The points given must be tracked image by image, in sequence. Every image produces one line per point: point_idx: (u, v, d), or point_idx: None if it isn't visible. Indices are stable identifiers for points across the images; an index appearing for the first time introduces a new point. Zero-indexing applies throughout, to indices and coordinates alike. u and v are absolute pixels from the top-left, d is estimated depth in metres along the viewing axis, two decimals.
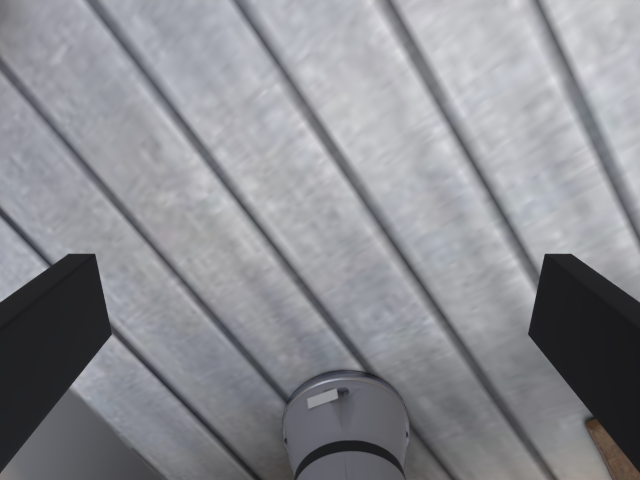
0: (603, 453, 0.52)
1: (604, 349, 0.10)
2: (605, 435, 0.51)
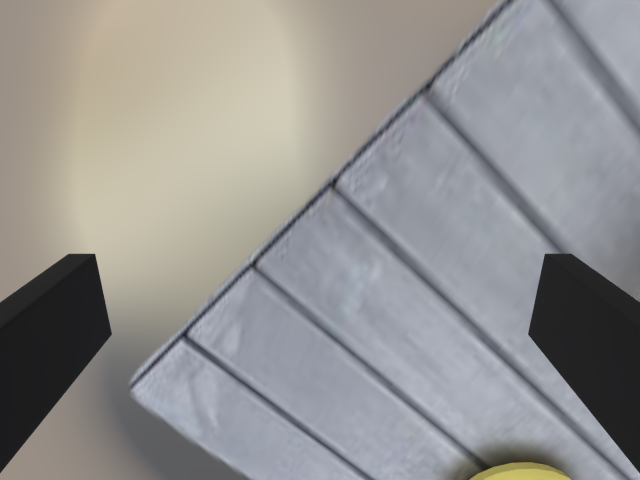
0: None
1: (604, 349, 0.10)
2: None
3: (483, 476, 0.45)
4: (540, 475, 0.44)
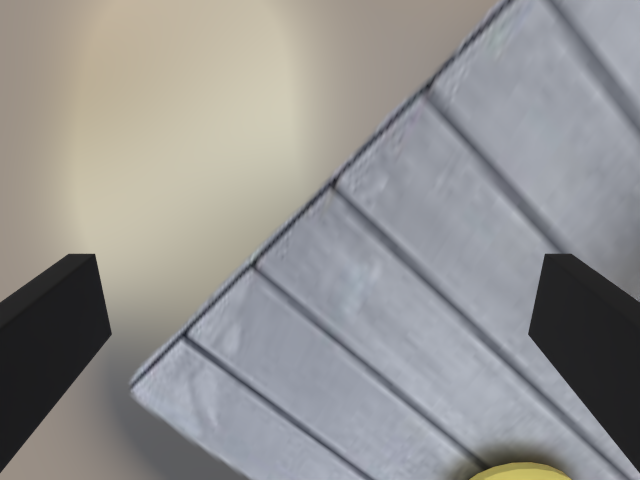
0: None
1: (604, 349, 0.10)
2: None
3: (483, 476, 0.45)
4: (540, 475, 0.44)
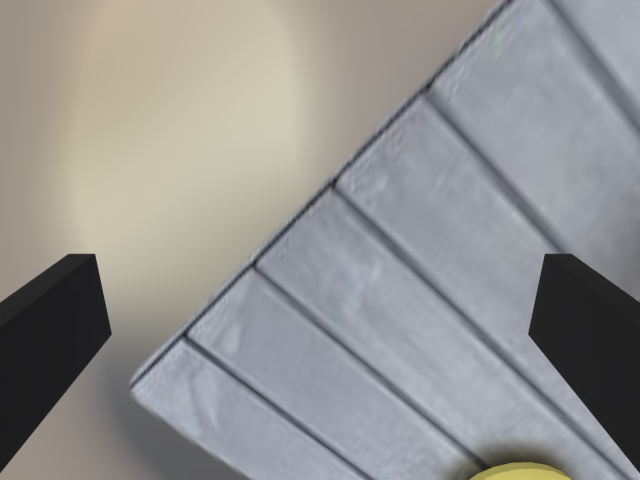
0: None
1: (604, 349, 0.10)
2: None
3: (483, 476, 0.45)
4: (540, 475, 0.44)
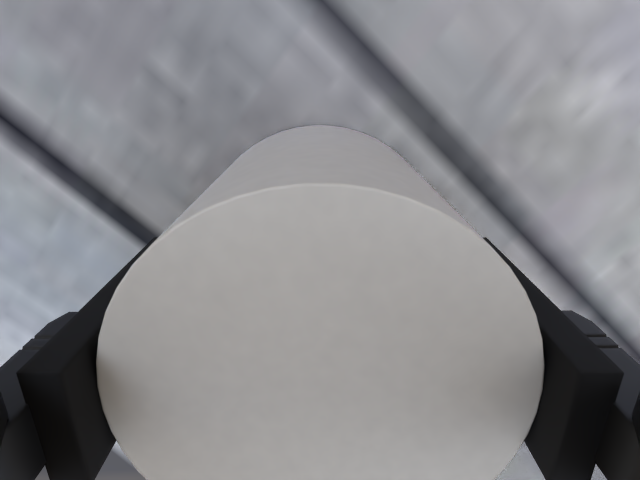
0: None
1: None
2: None
3: None
4: None
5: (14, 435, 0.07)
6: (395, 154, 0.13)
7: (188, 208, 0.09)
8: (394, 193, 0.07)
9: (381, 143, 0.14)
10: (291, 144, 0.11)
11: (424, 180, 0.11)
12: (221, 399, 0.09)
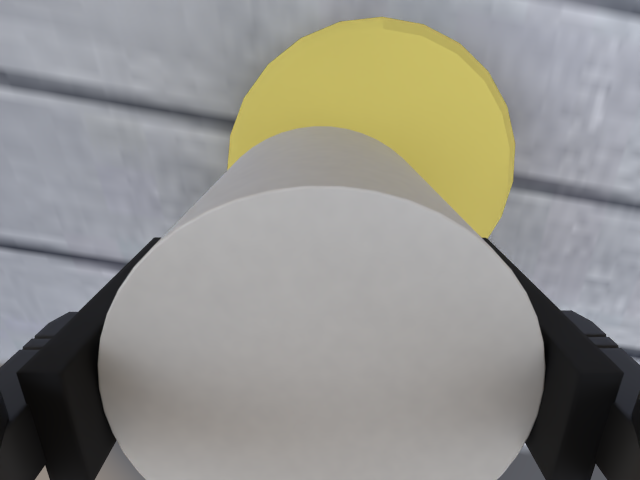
0: None
1: None
2: None
3: None
4: (309, 42, 0.21)
5: (14, 435, 0.07)
6: (396, 155, 0.13)
7: (189, 210, 0.09)
8: (395, 196, 0.07)
9: (382, 144, 0.14)
10: (292, 146, 0.11)
11: (425, 182, 0.11)
12: (222, 401, 0.09)
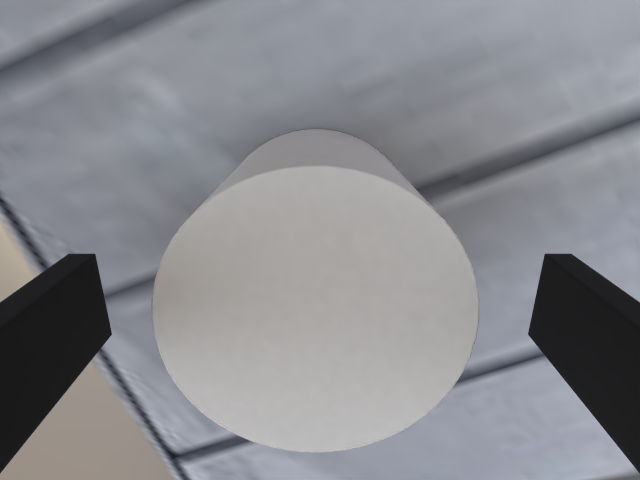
0: None
1: (604, 349, 0.10)
2: None
3: None
4: None
5: None
6: (376, 152, 0.17)
7: (217, 188, 0.12)
8: (366, 173, 0.10)
9: (366, 143, 0.17)
10: (293, 143, 0.14)
11: (397, 171, 0.15)
12: (243, 327, 0.12)
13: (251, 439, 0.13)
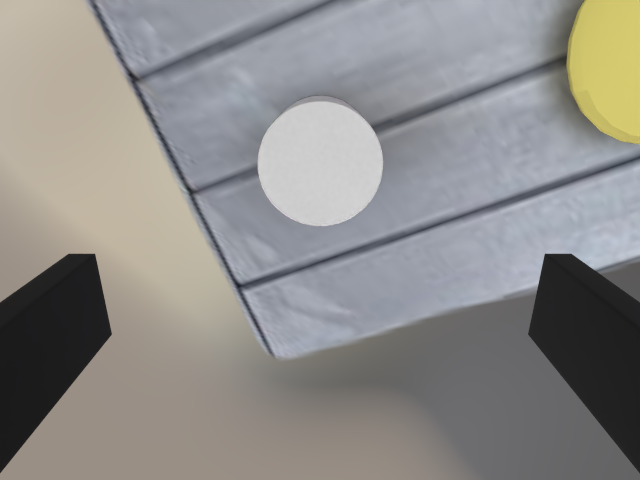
0: None
1: (604, 349, 0.10)
2: None
3: (569, 59, 0.33)
4: None
5: None
6: (349, 105, 0.35)
7: None
8: (338, 104, 0.29)
9: (344, 102, 0.36)
10: (310, 98, 0.33)
11: (356, 111, 0.33)
12: (292, 166, 0.30)
13: (293, 219, 0.32)
